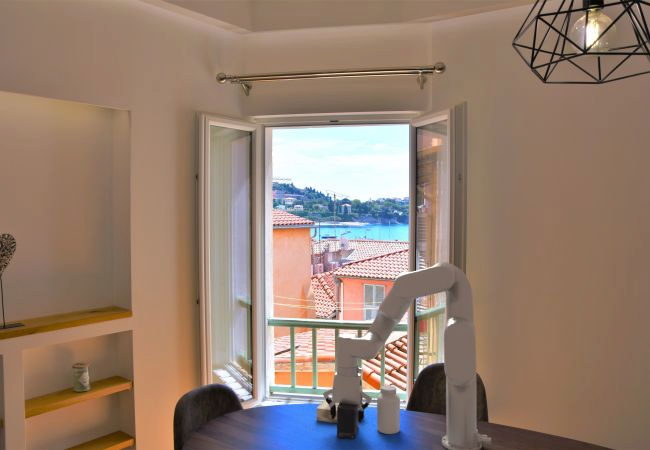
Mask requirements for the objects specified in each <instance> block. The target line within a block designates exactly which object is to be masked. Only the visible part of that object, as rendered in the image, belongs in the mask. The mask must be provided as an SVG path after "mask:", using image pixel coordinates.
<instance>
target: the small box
mask: <svg viewBox="0 0 650 450" xmlns="http://www.w3.org/2000/svg"><path fill="white" fill-rule="evenodd" d="M358 415H359V408H358V406H357V405H351V404H342V403H339V405H338V407H337V423H336V438H338V439H348V440H349V439H351V440H354V439H355V438H356V435H357V433H358V431H359V430H358V429H359V425H360V422H358Z"/></svg>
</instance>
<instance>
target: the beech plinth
mask: <svg viewBox="0 0 650 450" xmlns="http://www.w3.org/2000/svg"><path fill="white" fill-rule="evenodd" d="M331 400H332V399H331ZM332 401H333V400H332ZM335 405H336V416H335V418H334V419H332V415H330V407H329V404H328V403H327V402H326V400H325V398H324V399H323V400H322V402H321V403H320V404H319V405H318V406H317V407H316V421H319V422H326V423H327V422H328V423H336V424H337V407H338V405H339V403H335Z"/></svg>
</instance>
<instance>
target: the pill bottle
mask: <svg viewBox="0 0 650 450" xmlns="http://www.w3.org/2000/svg"><path fill="white" fill-rule="evenodd" d="M376 404H377V405H376V429H377V431H378V432H379V433H382V434H386V435H394V434H398V433H399V432H400V428H401V426H400V425H401V399H400V396H399V395H398V394H397V388H396V386H394V385H389V384H388V385H387V384H386V385H382V386H381V388H380V393H379V394H378V396H377V397H376Z"/></svg>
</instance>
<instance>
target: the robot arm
mask: <svg viewBox="0 0 650 450" xmlns="http://www.w3.org/2000/svg"><path fill="white" fill-rule="evenodd" d="M472 289H473V288H472V285H471V282H470V280H469V278H468V277H467V275H466V274H465V272H464V271H463V270H461V269H460V268H459V267H457V266H455V265H454V264H452V263H449V262H447V261H446V262H445V261H440V262H437V263H435V264H434V265H433V266H430V267H427V268H422V269H418V270H415V271H410V270H406V271H402V272H401V273H399V274H397V276H396V277H395V278H394V281H393V284H392V286H391V288H390V289H389V290H388V292H387V294H386V296H385V297H384V299H383V300H382V302H381V303H380V305H379V307H378V310H377V314H376V316H375V318H374V320H373V321H372V324H371V325H370V326H369V328H368V330H367V331H366V332H365V334H364V335H363V336H362V337H358V335H356V334H354V333H342V334H341V333H340V334H339V335H338V336H337V338H336V372H334V377H333V380H332V381H333V383H332V388H330V389H328V390H326V391H324V392H323V393H322V395H323V396H322V397H324V399H325V400H326V402H327V403H328V404H329V407H330V415H332V419H334V418H335V416H336V405H335V403H342V404H351V405H357V406H358V408H359V409H360V410H359V415H358V422H359V424H360V423H362V422H363V421H362V419H363V420H365V409H366V408H368V407H369V405H370V403H371V402H372V399H373V397H372V396H370V395H369V394H367V393H365V392H364V391H363V390H364V389H363V381H362V375H361V373H363V368H362V367H360V366H359V359H361V360H364V361H371V360H373V359H375V358H376V357H377V356H378V355H379V353H380V351H382V349H383V348H384V345H385V344H386V342H387V341H388V339H389V338H390V336H391V334H392V333H393V331H395V328H396V327H397V326H398V325H399V324H400V323H401V321H402V320H403V318H404V316H405V315H406V313H407V312H408V309H409V308H410V307H411V306H412V304H413V302H414V300H415V299H419V298H424V297H427V296H432V295H436V294H441V293H444V292H445V303H446V304H445V305H446V323H445V328H444V331H443V357H444V358H443V359H444V362H443V363H444V364H443V365H444V366H443V367H444V374H445V376H446V378H445V379H446V385H445V389H446V390H445V391H446V392H445V399H446V401H445V403H446V404H445V405H446V407H445V408H446V409H445V411H446V417H445V419H446V424H445V425H446V434H445V435H444V436H442V438H441V444H442V446H443V447H444V448H445V449H447V450H481V449H482V444H486V445H492V437H488V435H487V434H481V433H479V429H477V423H478V422H477V349H476V348H477V345H476V343H477V341H476V339H477V338H476V327H475V319H474V299H473V296H474V295H473V290H472ZM330 395H331V398H330ZM363 399H364V400H366V402H365V403H364V402H363ZM332 400H333V401H332Z"/></svg>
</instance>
